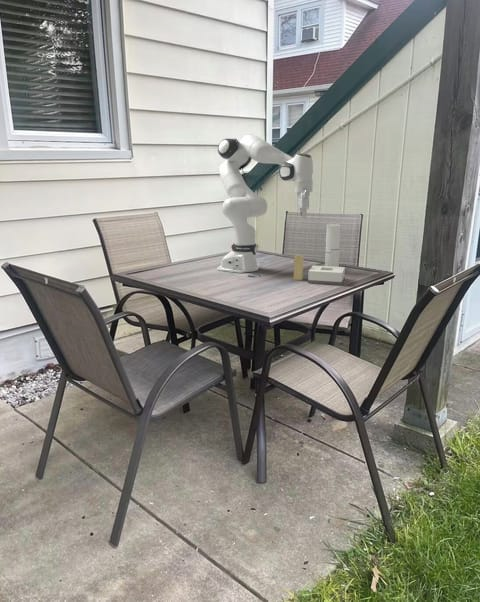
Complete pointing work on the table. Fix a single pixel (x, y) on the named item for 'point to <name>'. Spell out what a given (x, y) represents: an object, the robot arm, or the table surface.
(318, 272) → the socket block
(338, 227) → the cylindrical container
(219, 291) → the table surface
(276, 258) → the table surface
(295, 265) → the brass peg
